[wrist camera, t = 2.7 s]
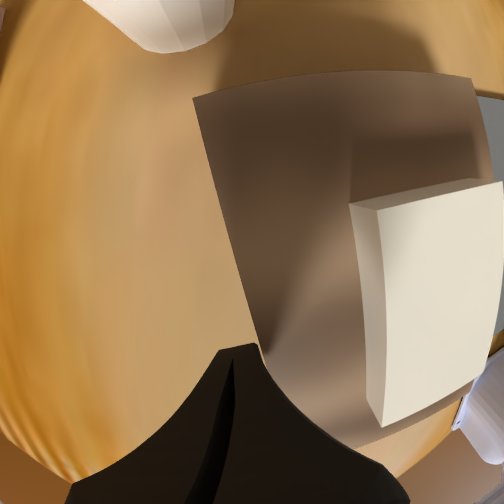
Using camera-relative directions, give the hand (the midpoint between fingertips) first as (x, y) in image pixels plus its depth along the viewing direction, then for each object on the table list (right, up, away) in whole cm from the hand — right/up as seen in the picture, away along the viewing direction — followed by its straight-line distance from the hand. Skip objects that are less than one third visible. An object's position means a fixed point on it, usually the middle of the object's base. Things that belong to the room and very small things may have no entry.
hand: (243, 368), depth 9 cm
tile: (+7, +2, 0) cm, 8 cm away
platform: (+6, +3, +4) cm, 8 cm away
